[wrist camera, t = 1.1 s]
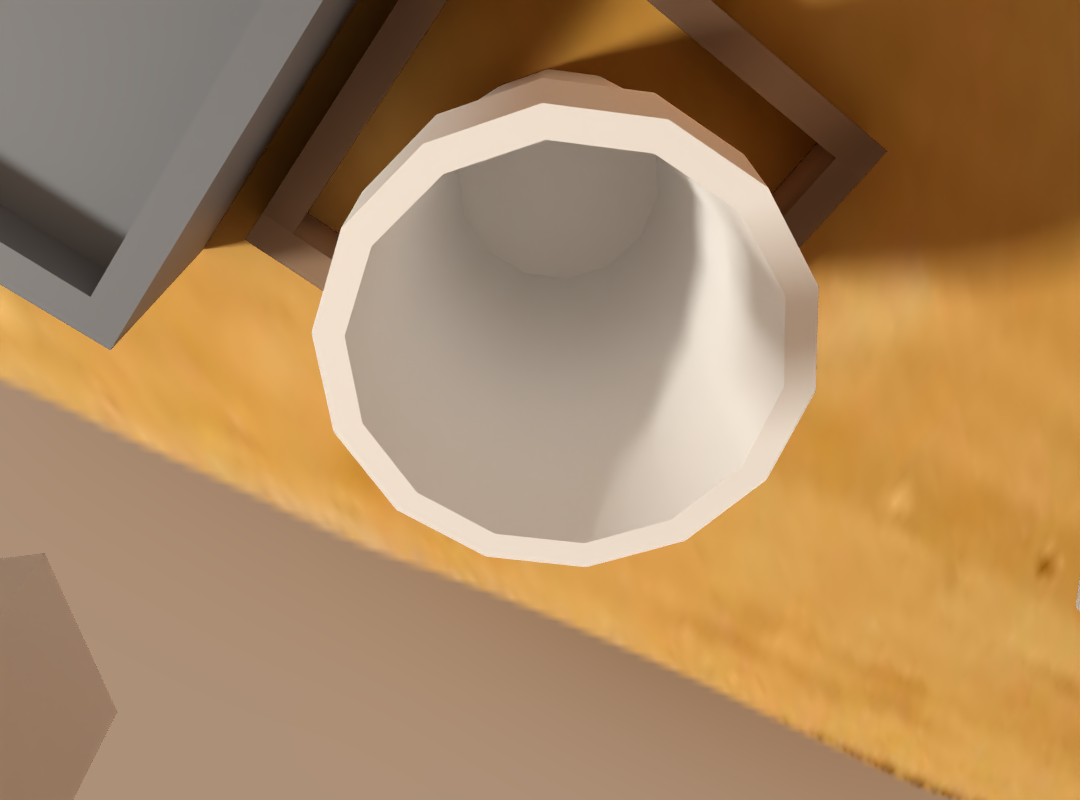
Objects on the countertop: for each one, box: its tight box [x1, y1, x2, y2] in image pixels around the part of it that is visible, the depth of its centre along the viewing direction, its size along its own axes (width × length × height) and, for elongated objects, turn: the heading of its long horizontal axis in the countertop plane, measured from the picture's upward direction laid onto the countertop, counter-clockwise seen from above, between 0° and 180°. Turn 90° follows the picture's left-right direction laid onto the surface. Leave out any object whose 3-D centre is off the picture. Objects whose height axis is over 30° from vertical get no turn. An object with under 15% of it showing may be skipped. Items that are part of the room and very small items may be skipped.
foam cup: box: [312, 69, 819, 567], centre depth 24 cm, size 10×9×13 cm
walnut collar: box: [245, 0, 887, 291], centre depth 29 cm, size 13×13×2 cm
